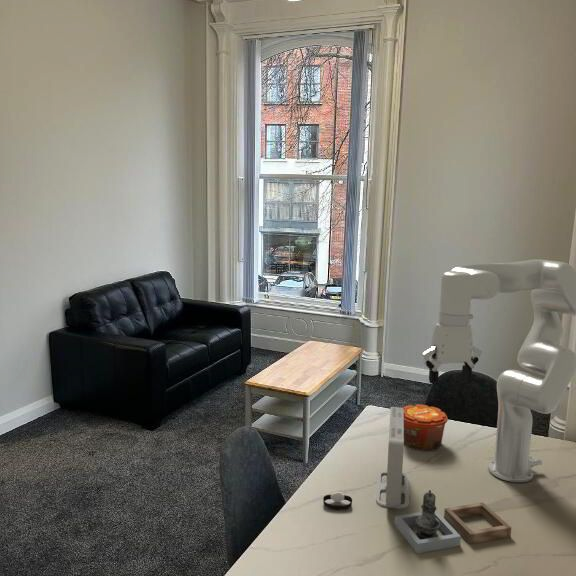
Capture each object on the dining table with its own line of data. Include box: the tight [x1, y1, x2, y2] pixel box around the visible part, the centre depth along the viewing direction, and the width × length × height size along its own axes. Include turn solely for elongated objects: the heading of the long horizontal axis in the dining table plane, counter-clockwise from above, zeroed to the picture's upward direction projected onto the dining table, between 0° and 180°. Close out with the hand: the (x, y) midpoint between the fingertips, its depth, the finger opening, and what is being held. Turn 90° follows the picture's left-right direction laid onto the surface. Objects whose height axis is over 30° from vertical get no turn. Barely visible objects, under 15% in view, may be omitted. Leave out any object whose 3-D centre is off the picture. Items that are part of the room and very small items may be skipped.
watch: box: [322, 491, 353, 511], centre depth 146 cm, size 8×5×4 cm, turn 87°
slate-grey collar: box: [394, 510, 462, 554], centre depth 134 cm, size 11×11×2 cm
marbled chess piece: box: [415, 489, 440, 540], centre depth 133 cm, size 6×6×12 cm
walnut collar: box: [443, 502, 512, 545], centre depth 138 cm, size 11×11×2 cm
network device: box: [375, 406, 410, 510], centre depth 153 cm, size 26×9×20 cm, turn 168°
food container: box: [402, 404, 449, 452], centre depth 184 cm, size 16×16×11 cm
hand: (449, 382), depth 145 cm, fingers open, 9 cm apart
